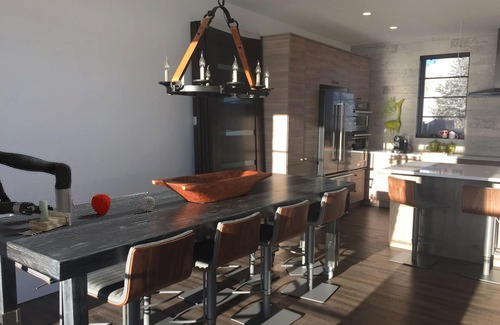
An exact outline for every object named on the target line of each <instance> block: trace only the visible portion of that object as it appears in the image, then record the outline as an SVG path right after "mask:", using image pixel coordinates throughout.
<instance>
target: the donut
mask: <svg viewBox="0 0 500 325" xmlns="http://www.w3.org/2000/svg"><path fill="white" fill-rule="evenodd" d="M148 202H149V205H147V203H148ZM155 206H156V201H155V198H153V197H152V196H149V195H148V196H145V197H143V198H142V199H141V202H140V208H141V210H142V211H144V212H151V211H152V210H154V208H155Z"/></svg>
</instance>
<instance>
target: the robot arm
mask: <svg viewBox="0 0 500 325" xmlns="http://www.w3.org/2000/svg"><path fill="white" fill-rule="evenodd" d="M0 165H3V166H7V168H8V167H9V168H13V169H15V170H20V171H25V172H33V173H45V174H49V175H52V176H55V183H54V193H55V194H54V197H55V212H66V213H71V216H72V215H74V201H73V200H74V199H73V198H72V180H73V179H72V168H71V167H70V165H69V164H67V163H64V162H59V161H57V162H56V161H48V160H44V159H41V158H40V157H35V156H32V155H27V154H23V153H18V152H17V153H16V152H8V151H1V150H0ZM47 206H48V211H54V206H51V205H50V204H47ZM11 214H12V215H19V216H27V217H29V216H33V215H40V214H41V210H40V209H39V204H35V203H34V202H31V201H12V200H11V199H10V197H9V196H8V195H7V193H6V192H5V188H4V186H3V184H2V181H1V179H0V215H11Z"/></svg>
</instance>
